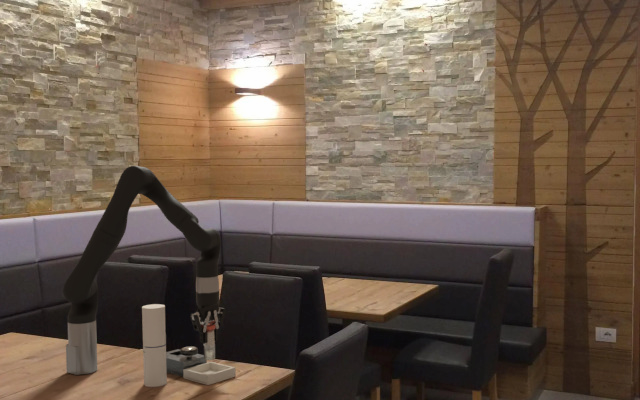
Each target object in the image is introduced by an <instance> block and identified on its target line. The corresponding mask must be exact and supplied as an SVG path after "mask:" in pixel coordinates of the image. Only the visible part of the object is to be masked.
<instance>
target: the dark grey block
mask: <svg viewBox="0 0 640 400" xmlns="http://www.w3.org/2000/svg"><path fill="white" fill-rule="evenodd" d="M207 362H208V360H204V354H200V353H199V349H198V347H196V346H185V347H182V348H180V349H179V348H177V349H174V350H170V351H166V370H167V374H170V375H174V376H179V377H182V378H184V376H183V369H187V368H190V367H194V366H197V365H201V364H204V363H207Z"/></svg>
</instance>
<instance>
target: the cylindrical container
mask: <svg viewBox="0 0 640 400" xmlns="http://www.w3.org/2000/svg"><path fill="white" fill-rule="evenodd" d="M141 315H142V316H141V318H142V319H141V321H142V324H141V325H142V354H143V358H142V359H143V361H142V362H143V385H144V386H145V387H148V388H157V387H162V386H166V385H167V383H168V380H167V379H168V377H167V376H168V373H167V370H166V352H167V334H166V333H167V332H166V305H165V304H160V303H152V304H146V305H143V306H141Z"/></svg>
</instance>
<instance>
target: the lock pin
mask: <svg viewBox="0 0 640 400" xmlns="http://www.w3.org/2000/svg"><path fill="white" fill-rule="evenodd" d="M202 328H203V326H202ZM215 328H216V327H215V324H210V323H208V325H207V328H206V333H207V343H205V344H203V355H204V360H207V361H213V360H215V359H216V344H215V343H216V341H215V335H214V329H215Z"/></svg>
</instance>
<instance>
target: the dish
mask: <svg viewBox="0 0 640 400" xmlns="http://www.w3.org/2000/svg"><path fill="white" fill-rule="evenodd" d="M236 370H237V369H236V366H231V365H228V364H227V365H226V364H223V363H218V362H215V361H207V363H204V364H201V365H197V366H194V367H190V368H187V369H183V376H184V377H183V380H184V379H185V380H188V381H191V382H195V383H199V384H202V385H206V386H209V385H213V384H216V383H219V382H222V381H226V380H229V379H232V378H234V377H236V374H237V373H236Z"/></svg>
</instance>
